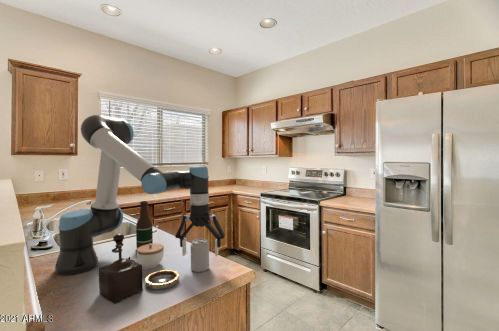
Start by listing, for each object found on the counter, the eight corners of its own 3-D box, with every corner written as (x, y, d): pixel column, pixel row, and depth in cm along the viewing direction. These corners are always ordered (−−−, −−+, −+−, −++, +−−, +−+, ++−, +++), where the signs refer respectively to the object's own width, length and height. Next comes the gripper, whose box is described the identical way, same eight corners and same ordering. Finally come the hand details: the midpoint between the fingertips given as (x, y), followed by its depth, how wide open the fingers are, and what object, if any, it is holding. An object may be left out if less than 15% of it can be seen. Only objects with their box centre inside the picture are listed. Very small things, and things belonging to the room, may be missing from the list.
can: (199, 274, 103) (199, 244, 103) (186, 269, 108) (186, 241, 107) (212, 268, 109) (212, 239, 109) (200, 263, 114) (200, 236, 113)
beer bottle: (147, 245, 137) (146, 199, 136) (156, 248, 133) (155, 201, 132) (133, 249, 131) (132, 201, 130) (141, 252, 126) (141, 203, 125)
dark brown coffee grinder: (145, 290, 92) (144, 239, 91) (113, 304, 83) (112, 248, 82) (122, 278, 101) (121, 231, 100) (91, 290, 92) (90, 239, 91)
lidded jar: (168, 265, 112) (168, 243, 112) (144, 273, 104) (143, 250, 104) (156, 258, 119) (156, 238, 119) (132, 265, 112) (132, 244, 111)
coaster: (139, 289, 92) (139, 284, 92) (154, 274, 103) (154, 269, 103) (172, 290, 91) (171, 285, 91) (182, 275, 103) (182, 270, 102)
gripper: (166, 205, 104) (167, 257, 105) (228, 205, 103) (229, 258, 103) (173, 202, 112) (174, 251, 113) (231, 202, 110) (231, 251, 111)
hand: (200, 254), depth 108 cm, fingers open, 13 cm apart
